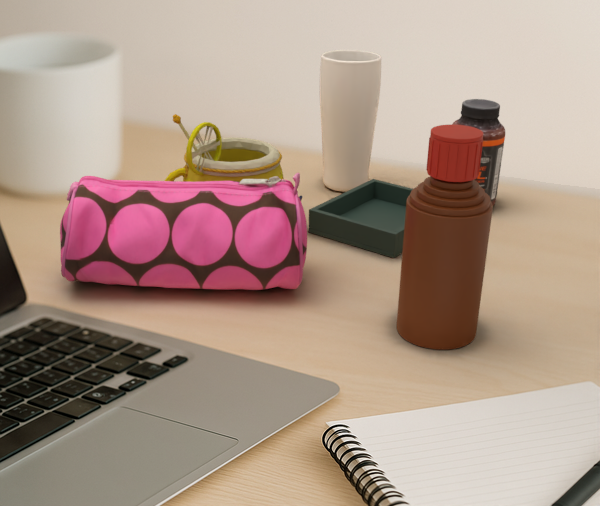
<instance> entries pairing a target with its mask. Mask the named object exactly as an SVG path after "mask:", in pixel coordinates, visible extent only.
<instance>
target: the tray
mask: <svg viewBox="0 0 600 506" xmlns="http://www.w3.org/2000/svg"><path fill="white" fill-rule="evenodd" d="M413 189H414V188H412V187H408V186H404V185H399V184H396V183H391V182H387V181H384V180H379V179H377V178H372V179H370V180H368V182H366V183H364V184H361V185H359V186H357V187H355V188H353V189H351V190H349V191H347V192H342V193H341V194H338V195H337V196H334V197H333V198H330V199H328V200H326V201H324V202H321V203H320V204H317V205H316V206H313V207H312V208H309V209H308V229H307V233H310V234H313V235H317V236H319V237H323V238H327V239H330V240H333V241H336V242H339V243H342V244H346V245H349V246H353V247H356V248H360V249H363V250H367V251H369V252H373V253H376V254H380V255H382V256H385V257H389V258H393V259H394V258H396V257H398V256H400V255H402V251H403V239H404V226H405V214H406V201H407V198H408V196H409V195H410V193H411V191H412V190H413Z"/></svg>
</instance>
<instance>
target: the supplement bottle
mask: <svg viewBox="0 0 600 506" xmlns="http://www.w3.org/2000/svg"><path fill="white" fill-rule="evenodd" d="M500 110H501V104H499V103H498V102H496V101H494V100H490V99H482V98H470V99H466V100H463V102H462V103H461V110H460V117H459V118H458V119H456V120H454V121H453V122H452V124H451V125H465V126H470V127H474V128H477V129H479V130H481V131H482V132H483V146H482V154H481V163H480V171H479V175H478V177H477V178H476V179H474V180H475V181H477V182H478V183H479V186H480V187H482V188H483V189H484V191H485V193H487V194H488V195H489V197H490V200H491V203H492V205H493V207H494V206H495V204H496V201H497V196H498V188H499V182H500V175H501V167H502V161H503V155H504V154H503V153H504V147H505V141H506V140H505V139H506V128H505V126H504V125H503V124H502V123H501V122H500V120H499V117H500Z"/></svg>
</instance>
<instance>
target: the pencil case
mask: <svg viewBox="0 0 600 506" xmlns="http://www.w3.org/2000/svg"><path fill="white" fill-rule="evenodd" d="M300 175H301V173H300V172H299V171H298V172H296V173H294V175H293V176H292V180H293V181H294V184H293V182H292V181H291V180H288V179H285V178H284V179H282V180H281V179H280V178H279V177H278V176H274V177H271V178H269V180H267V179H242V180H241V181H240V182H238V181H205V182H183V180H182V181H181V180H180V181H179V180H177V181H176V180H174V181H165V180H135V179H134V180H133V179H131V180H130V179H107V178H103V177H99V176H95V175H84V176H82V177H80V179H79V180H78V181H73V182H72V183H71V184H70V186H69V189H68V193H67V197H66V201H68V204H67V207H66V208H65V211H64V213H63V215H62V217H61V220H60V225H59V227H60V228H59V239H60V240H59V241H60V242H59V243H60V264H61V267H60V272H61V275H62V277H64V278H65V280H66V281H68V282H81V283H97V284H104V285H121V286H133V287H158V288H164V289H195V290H196V289H197V290H199V289H201V290H227V291H229V290H246V291H261V290H268V289H272V288H281V289H287V290H296V289H298V288H299V286H301V284H302V282H303V279H304V278H303V276H304V267H305V263H306V259H307V251H308V226H307V217H306V213H305V208H304V206H303V203H302V199H303V195H299V192H298V188H299V186H300V182H301V176H300Z"/></svg>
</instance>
